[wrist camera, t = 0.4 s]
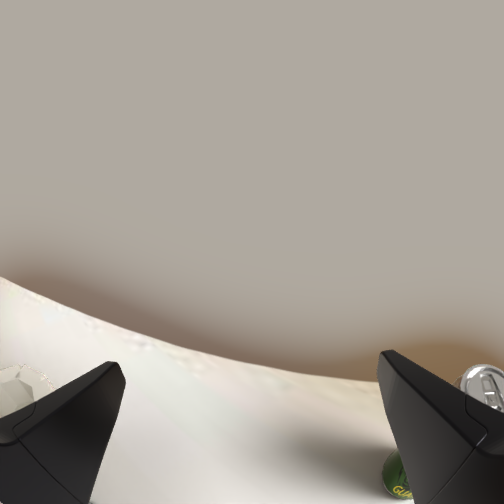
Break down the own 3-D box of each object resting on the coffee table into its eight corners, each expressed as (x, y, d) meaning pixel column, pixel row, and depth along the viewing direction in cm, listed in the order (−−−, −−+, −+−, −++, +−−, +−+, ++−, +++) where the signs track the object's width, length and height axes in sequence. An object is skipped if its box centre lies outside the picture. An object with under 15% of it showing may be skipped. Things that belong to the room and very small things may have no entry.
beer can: (379, 449, 18) (448, 360, 13) (431, 448, 17) (508, 361, 12) (376, 503, 14) (466, 438, 8) (433, 498, 13) (531, 426, 7)
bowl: (50, 486, 12) (21, 466, 10) (-11, 441, 13) (-37, 416, 11) (87, 412, 20) (67, 384, 18) (26, 383, 21) (7, 355, 19)
